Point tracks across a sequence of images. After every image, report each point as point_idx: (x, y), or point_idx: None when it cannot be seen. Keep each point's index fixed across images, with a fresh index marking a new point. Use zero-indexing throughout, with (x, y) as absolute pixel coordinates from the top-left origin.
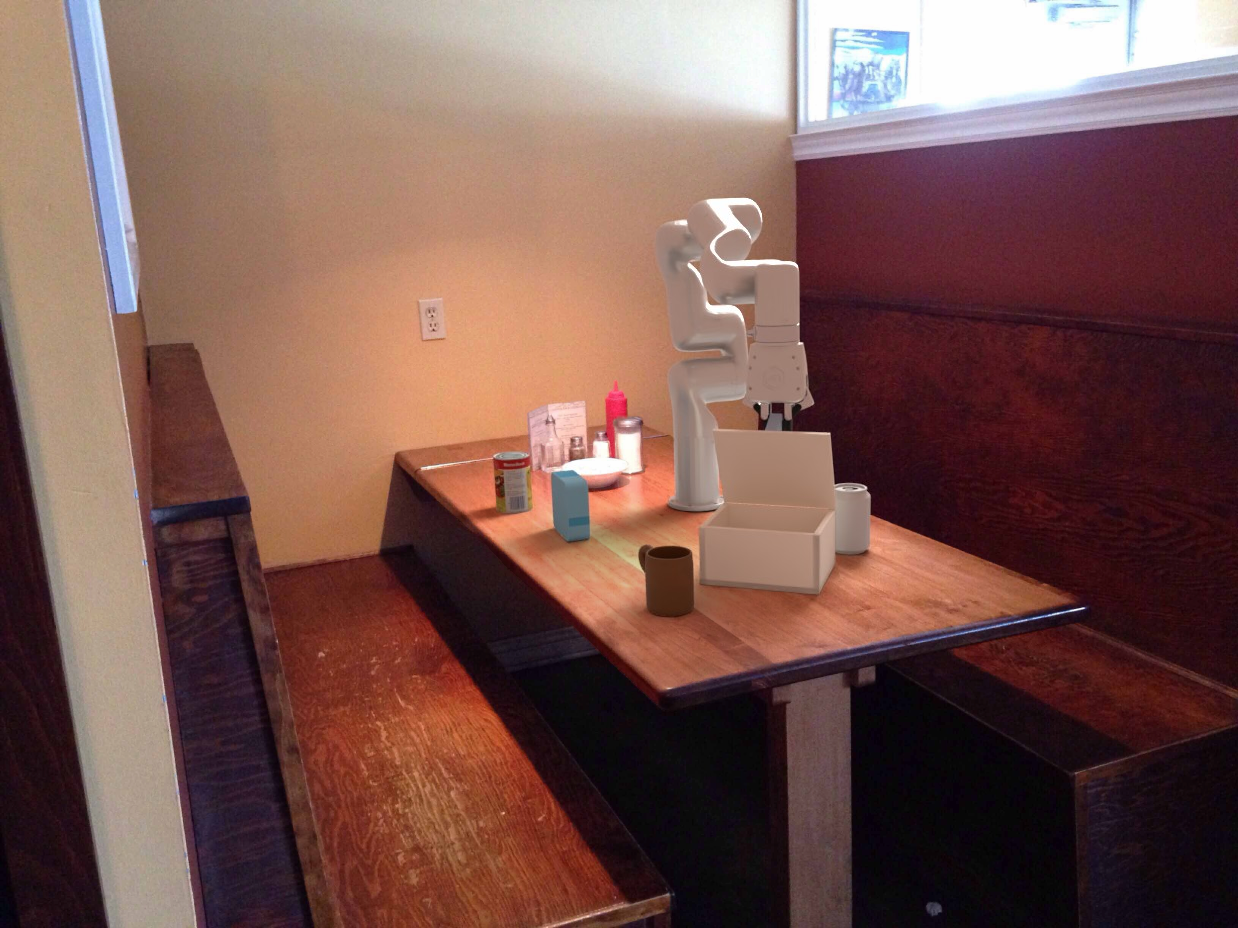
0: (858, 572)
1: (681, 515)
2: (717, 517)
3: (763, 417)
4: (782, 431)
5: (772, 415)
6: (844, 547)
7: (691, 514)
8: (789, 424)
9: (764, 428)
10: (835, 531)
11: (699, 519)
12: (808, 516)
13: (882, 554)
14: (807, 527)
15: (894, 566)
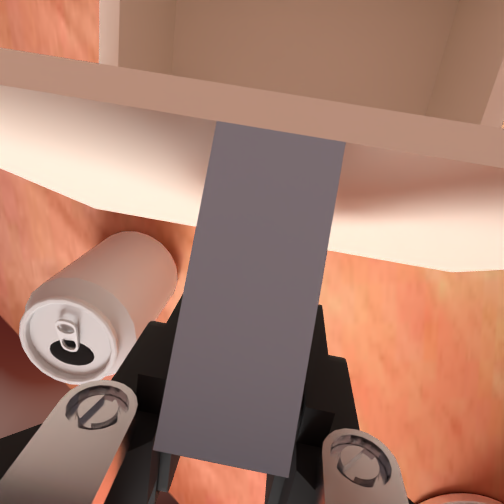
0: None
1: (496, 474)
2: (484, 100)
3: (367, 455)
4: (151, 101)
5: (265, 428)
6: (136, 234)
7: (473, 479)
8: (125, 373)
9: (343, 390)
10: (145, 256)
11: (457, 449)
12: None
13: (71, 241)
14: None
15: None
